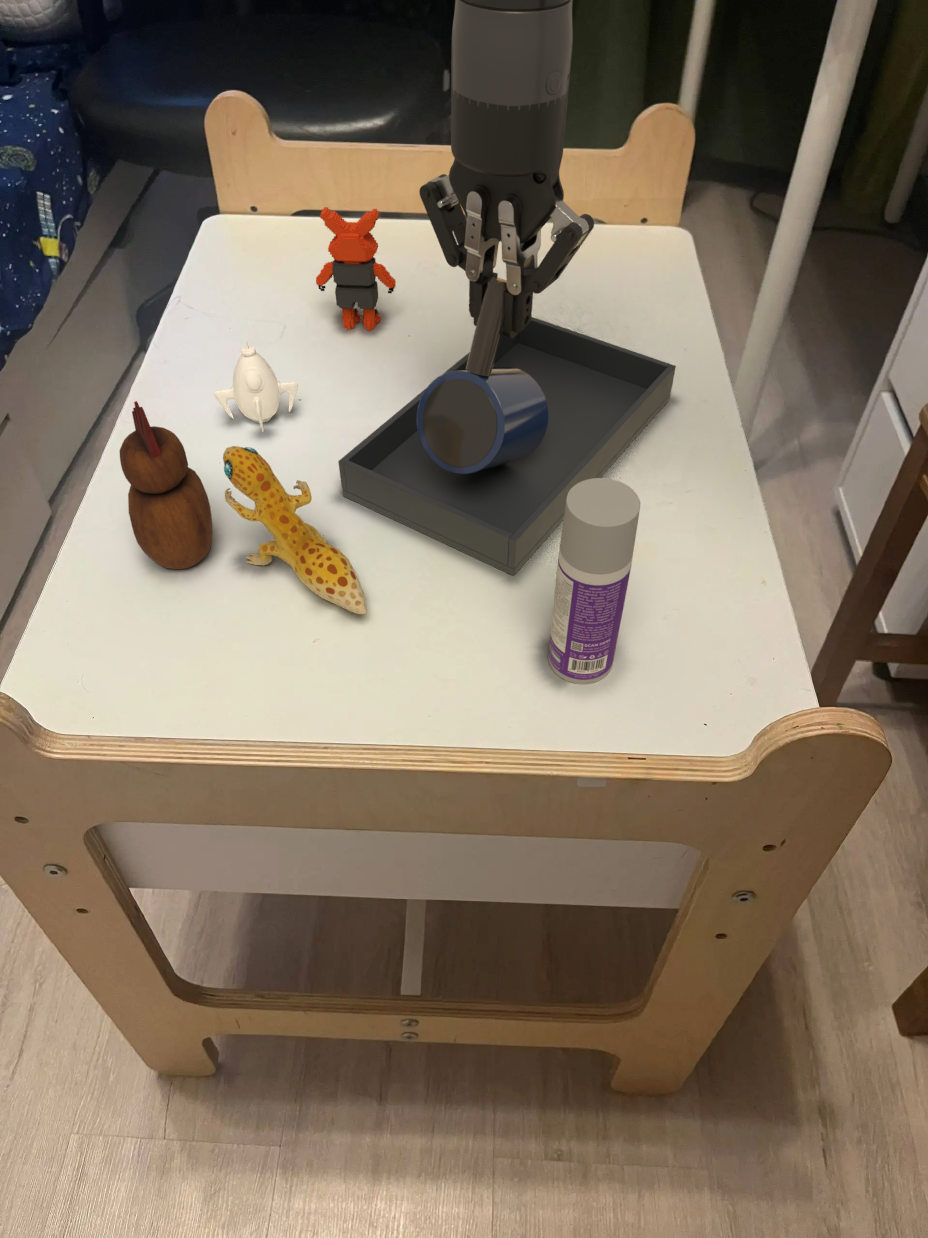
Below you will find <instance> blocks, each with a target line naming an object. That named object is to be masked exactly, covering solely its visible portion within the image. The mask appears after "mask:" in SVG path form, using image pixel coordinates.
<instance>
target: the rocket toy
mask: <svg viewBox="0 0 928 1238" xmlns="http://www.w3.org/2000/svg"><path fill="white" fill-rule="evenodd" d="M245 343H246V346H243V347H242V348H241V354H240V356H239V357H238V359H237V361H236V364H235V367H234V370H233V376H232V386H231V387H230V388H229V389H222V390H217V391H214V392H213V395H214V398H215V399H216V401H217V402H218V404H219V405H220V406H221V407H222V409H223V410H224V411H225V412H226V413H227V414H228V416H229V417H230V418H231V419H233V420H234V419H235V418H234V415H233V413H232V411H231V409H230V406H229V404H228V401H229V400H234V401H235V402H236V405H237V406H238V409H239V410H240V412H241V413H242V414H243V415H244V416H245V417H246V418H247V419H250V420H252V421H253V422H254V423H257V424H259V426H260V429H261V431H262V433H264V432H265V431H264V423H267V422H269V421H270V420H271V419H272V417H273V416H275V414H277V412H278V410H279V406H280V401H281V395H282V394H283V393H287V394H288V399H289V400H288V412H289V413H290V412H291V411H292V408H293V406H294V403H295V400H296V397H297V393H298V389H299V383H298V382H296V381H289V382H280V381H279V380H278V379H277V376H276V374H275V372H274V370H273V369H272V367H271V365H270V364H269V363H268V362H267V361H266V359H265V358H264V357H263V356H262V354H260V353H259V352H257V350H256V348H255V346H252V345H249V344H248V341H245Z"/></svg>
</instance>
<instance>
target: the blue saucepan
mask: <svg viewBox="0 0 928 1238" xmlns="http://www.w3.org/2000/svg"><path fill="white" fill-rule="evenodd" d="M506 291H508V289H507V279H504V278H500V277H498V278H497V277H488V280H487V284H486V288H485V292H484V296H483V300H482V304H481V308H480V313H479V317H478V321H477V325H476V326H475V329H474V333H473V338H472V341H471V344H470V345H471V346H470V350H469V352H470V353H469V352H468V353H469V357H468V361H467V366H466V370H460V371H452V372H448V373H445V372H444V373H445V374H444V373H442V374H441V375H438V376H437V377H436V378H435V379H433V380H432V381H431V382H430V383H429V384H428V385H427V386H426V387H425V389H426V390H425V389H424V390H425V391H424V393H423V395H422V397H421V400H420V403H419V406H418V411H417V428H418V434H419V438H420V441H421V443H422V446H423V448H424V449H425V451H426V453H427V454H428V456H429V457H430V458H431V459H432V460H433V461H434V462H435V463H436V464H437V465H438V466H440V467H441V468H443V469H445V470H446V471H449V472H452V473H455V474H471V473H475V472H478V471H482V470H486V469H489V468H493V467H496V466H500V465H504V464H507V463H511V462H515V461H518V460H521V459H524V458H526V457H527V456H529V455H530V454H531V453H533V452H534V451H535V450H536V449H537V448H538V446H539V445H540V443H541V442H542V440H543V438H544V436H545V433H546V430H547V425H548V406H547V402H546V398H545V396H544V393H543V391H542V390H541V388H540V386H539V385H538V383H537V382H536V381H535V380H534V379H533V378H532V377H531V376H530V375H529V374H527V373H525V372H524V371H522V370H520V369H517V368H513V367H495V368H493V364H494V360H495V356H496V353H497V349H498V345H499V341H500V337H501V333H502V329H503V322H504V301H505V292H506Z"/></svg>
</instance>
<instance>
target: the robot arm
mask: <svg viewBox="0 0 928 1238" xmlns="http://www.w3.org/2000/svg"><path fill="white" fill-rule="evenodd" d="M454 2H455V3H454V13H453V14H454V15H453V21H452V30H451V46H450V47H451V56H450V57H451V59H450V67H451V70H450V71H451V72H450V74H451V77H450V79H451V83H450V150H451V154H452V156H453V158H454V159H453V162H452V165H451V166H450V168H449V171H448V174H445V173H443V174H440V175H438V176H436V177H434V178H432V179H430V180H429V181H427V182H426V183H425V184H423V185H421V186H420V187H419V192H418V193H419V196H420V199H421V202H422V205H423V206H424V209H425V211H426V214H427V217H428V219H429V221H430V225H431V227H432V229H433V232H434V234H435V236H436V239H437V242H438V244H439V247H440V248H441V251H442V254H443V256H444V258H445V261H446V263H447V264H448V265H449V266H450V267H452V268H456V267H459V268H460V269H461V270H463V271H464V272H465V276H466V278H467V279H468V280H469V282H468V283H469V284H468V285H469V287H468V312H469V315H470V317H471V318H472V319H473V326H475V327H476V325H477V321H478V317H479V313H480V308H481V304H482V300H483V296H484V292H485V288H486V284H487V280H488V277H497V278H499V273H497V272H494V269H495V268H496V266H497V261H498V260H497V259H498V252H499V245H500V242H501V260H502V262H503V263H505V268H506V269H505V271H506V272H505V273H506V280H507V289H508V291H506V292H505V301H504V322H503V335H504V336H506V337H509V338H511V339H513V338H514V337H516V336H517V335H518V334H519V333H520V332H522V331H523V330H524V329H525V328H526V327H527V326H529V324H530V322H531V317H533V316H532V314H533V302H534V301H533V300H534V294H535V295H538V294H541V293H542V292H544V290H545V291H546V289H547V288H548V287H550V286H551V285H553V284H554V282H556V281H557V280H559V278H560V276H561V275H563V274H562V273H564V271H565V269H566V268H567V266H568V265H569V264H570V262H571V261H572V259H573V258H574V257H575V255H576V254H577V252H578V251H579V249H580V248H581V247H582V245H583V244H584V242H585V241H586V239H587V238H588V237H589V235H590V234H591V232H592V231H593V229H594V227H595V220H594V218H593V217H592V216H591V215H590V214H588V213H583V214H581V215H578V214H577V213H576V212H575V211H574V210H573V209H572V208H571V207H570V206H569V205H568V204H567V203H566V202H565V201H564V197H565V192H564V188H563V185H562V181H561V178H560V171H561V170H560V168H561V164H562V160H563V156H564V146H565V137H566V125H567V113H568V101H569V91H570V89H569V88H570V80H571V79H570V78H571V68H572V67H571V66H572V57H573V41H574V35H573V34H574V29H573V0H455V1H454ZM550 219H551V220H552V228H551V230H550V241H551V242H553V244H552V245H551V246H550V248H549V250H548V251H547V252H546V254H545V255H544V257H543V259H542V260H541V262H540V264H539V263H538V261H539V260H538V256H539V252H540V249H541V246H542V229H543V227H544V226H545V225H546V224H547V222H548V221H550ZM538 264H539V265H538Z"/></svg>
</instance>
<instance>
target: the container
mask: <svg viewBox="0 0 928 1238" xmlns="http://www.w3.org/2000/svg"><path fill="white" fill-rule="evenodd" d="M640 511H641V500H640V497H639V495H638V494H637V492H635V490H634V489H633V488H631V487H630V486H629V485H628V484H626V483H624V482H622V481H619V480H616V479H612V478H607V477H601V478H593V479H587V480H584V481H581V482H579V483H577V484H576V485H575V486H573V487H572V488H571V489H570V491H569V492H568V494H567V498H566V506H565V513H564V520H563V521H562V528H561V536H560V543H559V550H558V557H557V566H556V573H555V574H556V575H555V584H554V585H555V586H554V595H553V605H552V613H551V614H552V615H551V624H550V635H549V644H548V655H547V657H548V658H547V659H548V663H549V666H550V668H551V670H552V671H553V673H555V674H556V675H557V676H558V677H559V678H561V679H562V680H565V681H567V682H569V683H572V684H578V685H588V684H593V683H597V682H599V681H601V680H602V679H605V677H607V676H608V674H609V673H610V672H611V670H612V668H613V663H614V658H615V653H616V649H617V644H618V638H619V633H620V628H621V623H622V617H623V612H624V607H625V601H626V596H627V591H628V587H629V582H630V581H629V580H630V575H631V570H632V565H633V564H632V562H633V557H634V551H635V550H634V549H635V543H636V538H637V531H638V525H639V524H638V523H639V518H640Z"/></svg>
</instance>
